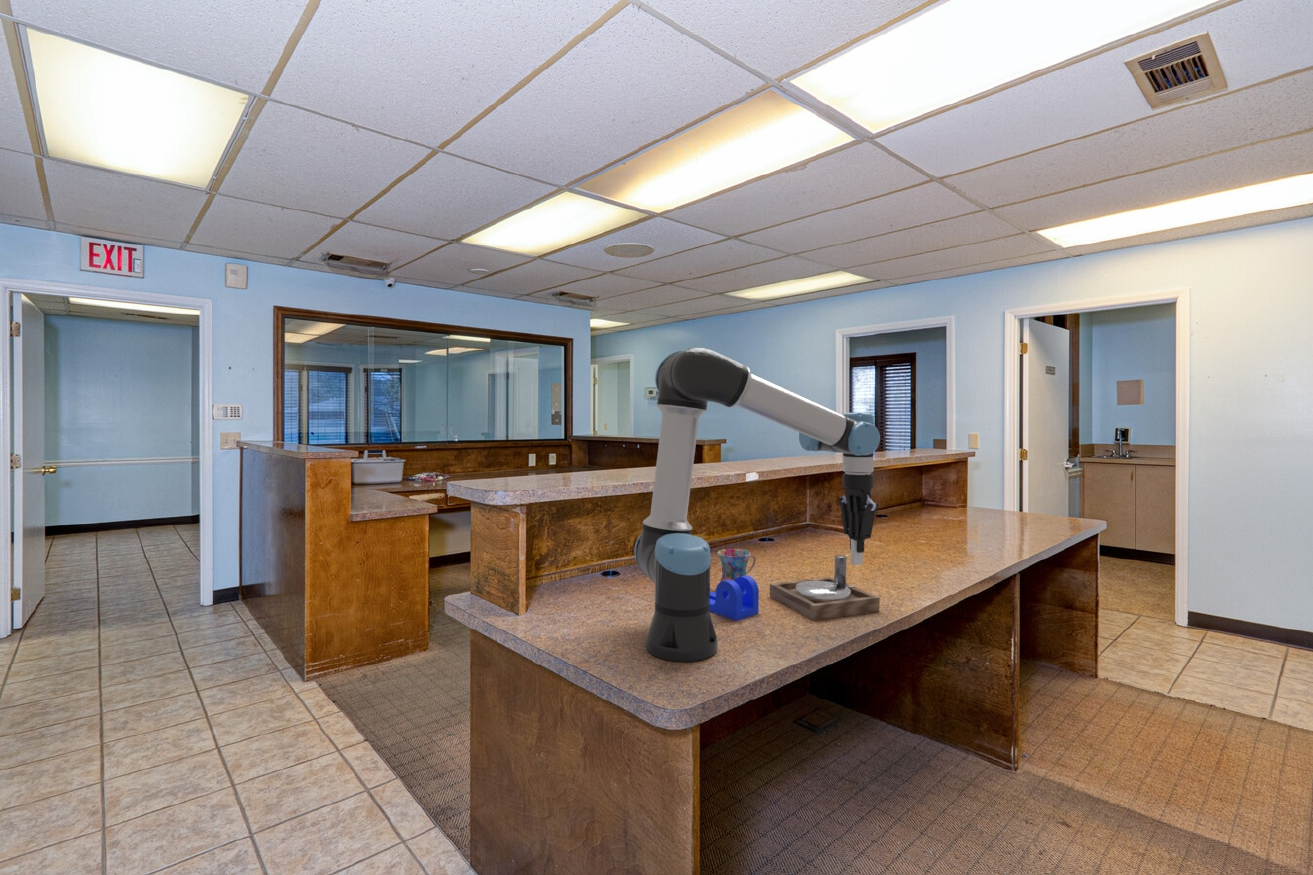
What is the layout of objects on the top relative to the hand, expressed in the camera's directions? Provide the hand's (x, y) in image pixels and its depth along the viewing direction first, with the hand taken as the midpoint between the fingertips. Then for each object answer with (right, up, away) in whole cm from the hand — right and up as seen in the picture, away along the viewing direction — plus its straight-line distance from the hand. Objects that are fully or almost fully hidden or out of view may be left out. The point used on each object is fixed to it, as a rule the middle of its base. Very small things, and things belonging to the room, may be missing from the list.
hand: (856, 564), depth 156 cm
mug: (-29, -11, +16) cm, 35 cm away
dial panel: (-8, -11, +4) cm, 14 cm away
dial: (-8, -9, +4) cm, 13 cm away
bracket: (-35, -12, 0) cm, 37 cm away
